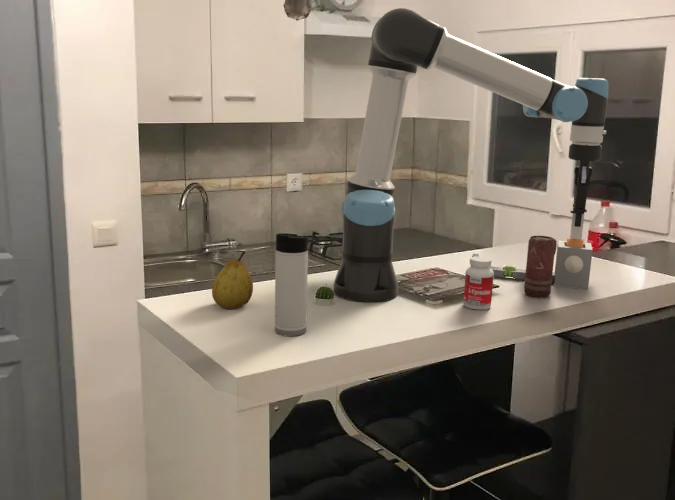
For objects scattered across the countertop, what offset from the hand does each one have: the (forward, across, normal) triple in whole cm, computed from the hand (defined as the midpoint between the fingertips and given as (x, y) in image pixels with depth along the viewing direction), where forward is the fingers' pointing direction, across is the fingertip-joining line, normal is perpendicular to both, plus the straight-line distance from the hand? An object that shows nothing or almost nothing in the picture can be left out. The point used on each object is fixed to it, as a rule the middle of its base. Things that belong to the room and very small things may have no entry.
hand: (575, 238), depth 182 cm
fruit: (+12, -47, +72) cm, 87 cm away
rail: (+12, 0, +14) cm, 18 cm away
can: (+12, -14, +8) cm, 20 cm away
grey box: (+12, 0, 0) cm, 12 cm away
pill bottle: (+12, -28, +21) cm, 37 cm away
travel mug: (+12, -58, +55) cm, 81 cm away
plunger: (+7, 0, 0) cm, 7 cm away
